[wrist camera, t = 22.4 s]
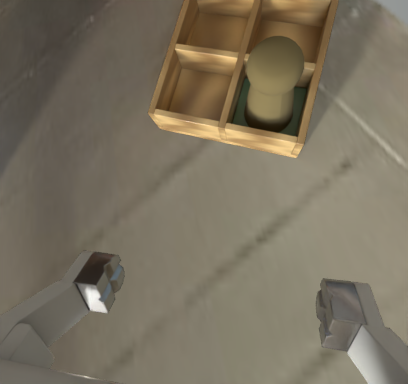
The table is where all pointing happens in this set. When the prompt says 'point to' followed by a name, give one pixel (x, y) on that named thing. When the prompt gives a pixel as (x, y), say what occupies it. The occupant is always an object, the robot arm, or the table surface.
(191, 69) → the wooden compartment tray
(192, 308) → the table surface
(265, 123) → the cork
